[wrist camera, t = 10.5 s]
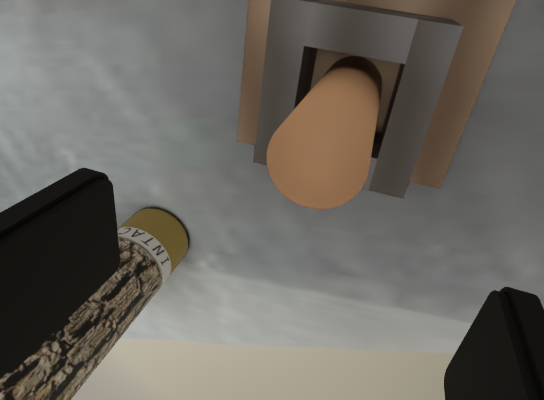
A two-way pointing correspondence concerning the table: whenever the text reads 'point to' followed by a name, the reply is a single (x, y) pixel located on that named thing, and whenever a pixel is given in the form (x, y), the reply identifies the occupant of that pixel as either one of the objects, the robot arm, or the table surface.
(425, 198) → the table surface
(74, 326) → the paper tube
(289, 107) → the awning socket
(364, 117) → the peg
